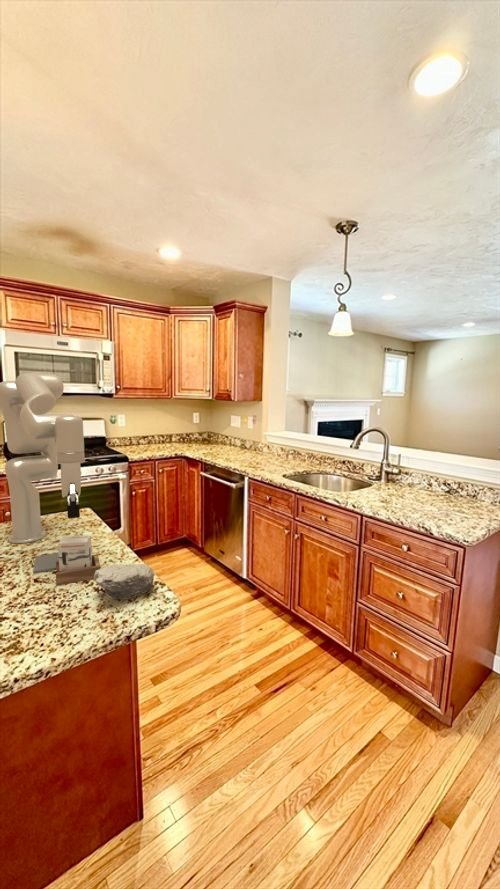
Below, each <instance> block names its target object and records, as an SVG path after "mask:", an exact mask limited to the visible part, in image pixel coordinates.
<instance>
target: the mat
mask: <svg viewBox="0 0 500 889" xmlns="http://www.w3.org/2000/svg"><path fill="white" fill-rule="evenodd" d="M56 561H59V552H55V553H48V554H43V555H42V554H41V555H36V556H35V557H34V564H33V568H32V569H33V570H32V574H33V575H36V574H43V573H47V572H53V571H57V570H56Z"/></svg>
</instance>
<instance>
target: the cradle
mask: <svg viewBox="0 0 500 889" xmlns="http://www.w3.org/2000/svg"><path fill="white" fill-rule="evenodd" d="M99 569H102V568H101V562H100V558H99V554H98V553H96V554H92V567H86V568H81V569H75V570H70V571H64V572H60V571H59V561H56V570H55V571H56V573H55V586H56V587H58V586H64V585H67V584H74V583H79V582H84V581H90V580H94V574H95V572H96V570H99Z"/></svg>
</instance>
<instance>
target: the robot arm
mask: <svg viewBox="0 0 500 889" xmlns="http://www.w3.org/2000/svg"><path fill="white" fill-rule="evenodd" d="M64 389H65V388H64V383H63V381H62V379H61V377H60V376H59V375H56V374H55V373H54V374H53V373H44V372H43V373H42V372H24V373H21V374H19V375H18V376H16V378H15V380H5V381H1V382H0V411H1V413H2V416H3V420H4V427H5V428H4V430H5V436H6V437H5V438H6V445H7V449H8V451H9V452H10V453H12V454H18V455H21V454H30V453H40V454H41V455H30V456H29V455H27V456H21V457H20V456H19V457H15V458H12V459H9V460H8V461H7V462H6V463H5V464H4V472H5V476H6V479H7V484H8V490H9V502H10V503H9V504H10V515H11V517H10V518H11V527H12V528H11V529H12V533H11V534H10V535H9V536H8V537H7V541H8V542H9V543H11V544H28V543H33V542H37V541H39V540H42V539H43V538H44V537H46V535H47V533H46V530H44V529H42V522H41V520H42V519H41V501H40V491H39V490H38V488H37V487H36V486H35V485H33V484H32V482H36V481H40V480H41V481H42V480H48V479H52V478H54V477H56V476H57V474H58V471H59V465H60V484H61V498H64V499H65V498H66V509H67V510H66V512H67V513H66V514H67V519H78V518H80V517H81V514H80V513H81V512H80V511H81V509H80V503H79V497H80V495H81V487H82V475H81V474H82V470H81V467H82V466H81V464H84V463H85V462H86V460H85V439H84V421H83V418H82V417H81V416H78V415H73V414H70V413H69V414H68V413H58V414H57V413H52V414H51V413H50V414H49V412H51V411H52V410H53V409H54V407H55V406H56V403H57V400H58V399H59V398H60V397H61V396H62V395H63V393H64Z"/></svg>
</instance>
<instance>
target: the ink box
mask: <svg viewBox="0 0 500 889" xmlns="http://www.w3.org/2000/svg"><path fill="white" fill-rule="evenodd" d="M57 549H58V550H57V551H58V552H57V553H59V571H60V572H64V571H70V570H75V569H81V568H86V567H92V555H93V554H92V536H91V535H89V534H86V535H73V536H71V535H70V536H63V537H61V539H60V540H59V541H58V543H57Z"/></svg>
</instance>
